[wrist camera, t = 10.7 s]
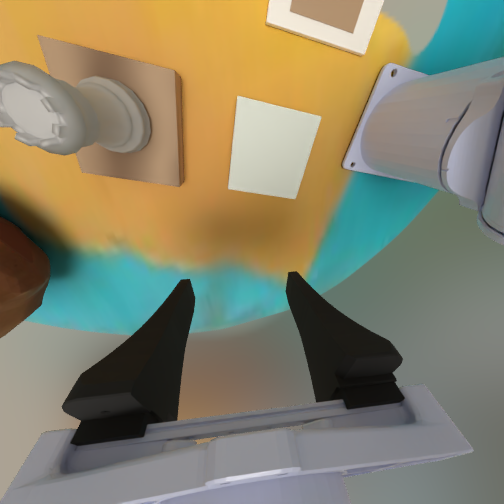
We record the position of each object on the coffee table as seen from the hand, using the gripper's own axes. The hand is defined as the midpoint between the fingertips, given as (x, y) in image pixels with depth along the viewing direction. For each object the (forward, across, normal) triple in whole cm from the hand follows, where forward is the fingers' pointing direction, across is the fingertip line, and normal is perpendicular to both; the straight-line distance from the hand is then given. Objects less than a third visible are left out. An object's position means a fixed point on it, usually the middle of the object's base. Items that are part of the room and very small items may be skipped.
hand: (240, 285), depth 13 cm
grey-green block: (+10, -3, -8) cm, 13 cm away
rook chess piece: (+9, +8, -10) cm, 16 cm away
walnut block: (+10, +8, -10) cm, 17 cm away
